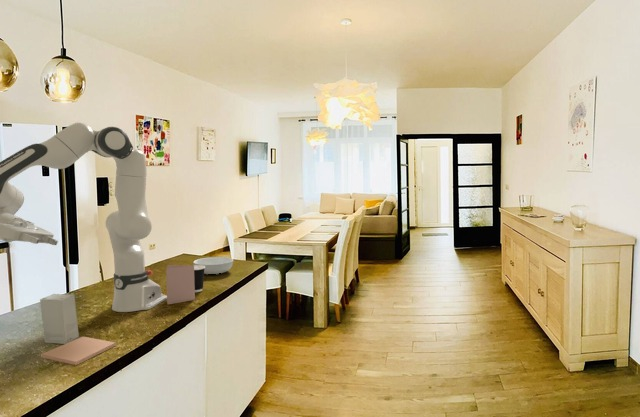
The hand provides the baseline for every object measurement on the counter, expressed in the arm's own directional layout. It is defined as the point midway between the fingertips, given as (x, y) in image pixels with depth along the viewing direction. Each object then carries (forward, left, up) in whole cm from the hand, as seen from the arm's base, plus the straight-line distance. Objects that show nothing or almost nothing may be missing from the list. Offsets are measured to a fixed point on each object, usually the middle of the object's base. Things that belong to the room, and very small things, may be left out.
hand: (47, 242), depth 137 cm
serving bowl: (-90, +2, -32) cm, 96 cm away
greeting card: (-43, +17, -32) cm, 57 cm away
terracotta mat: (+7, +20, -32) cm, 38 cm away
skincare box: (+3, +7, -32) cm, 33 cm away
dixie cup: (-59, +14, -32) cm, 69 cm away
